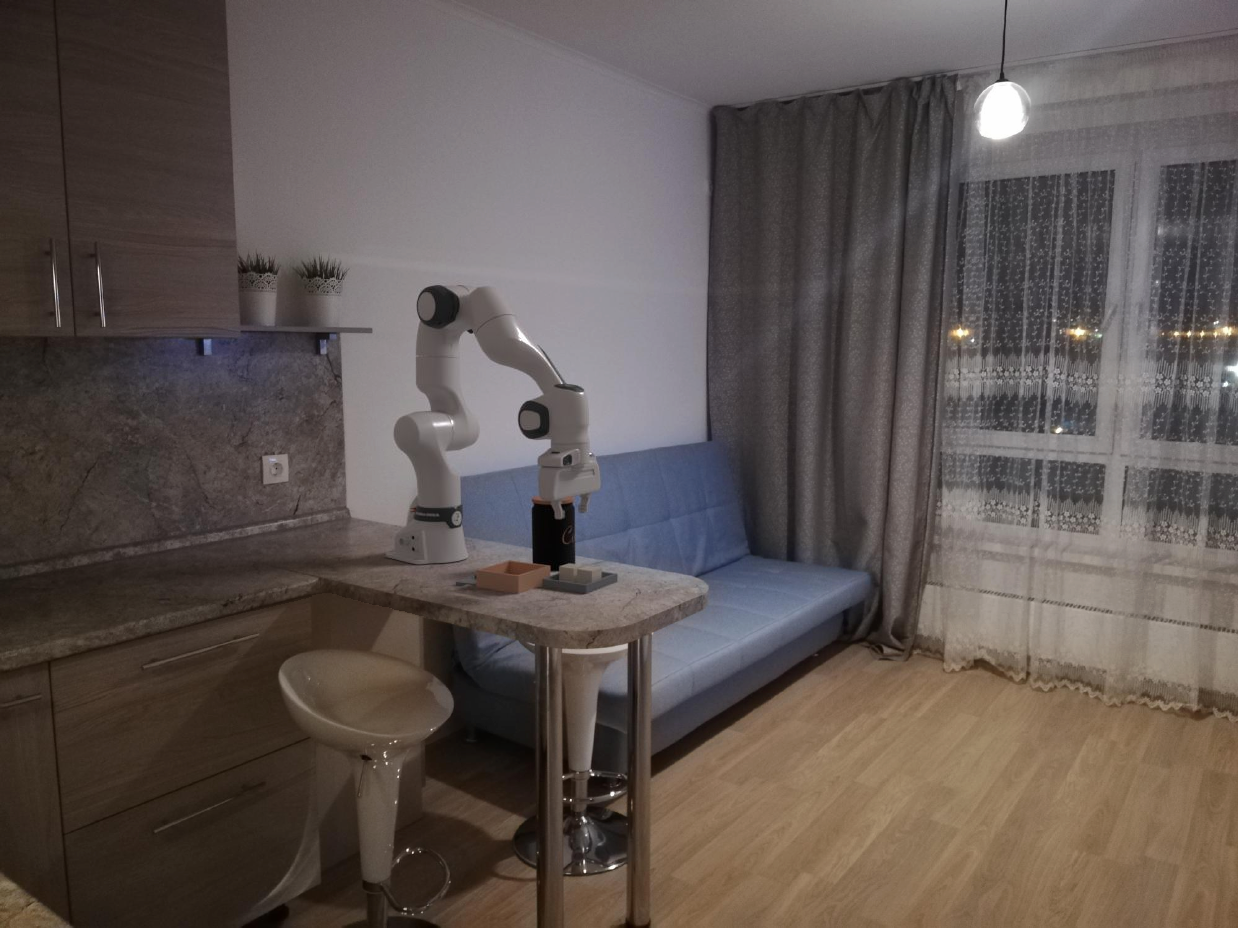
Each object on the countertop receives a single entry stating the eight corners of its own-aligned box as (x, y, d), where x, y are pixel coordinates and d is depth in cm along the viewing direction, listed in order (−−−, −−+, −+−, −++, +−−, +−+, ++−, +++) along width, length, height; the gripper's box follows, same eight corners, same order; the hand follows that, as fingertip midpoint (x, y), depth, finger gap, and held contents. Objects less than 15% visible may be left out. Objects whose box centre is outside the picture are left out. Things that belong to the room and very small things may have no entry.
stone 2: (577, 586, 209) (577, 569, 209) (587, 582, 213) (586, 565, 212) (592, 588, 207) (591, 571, 207) (601, 584, 211) (601, 567, 210)
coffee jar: (569, 574, 224) (568, 501, 222) (527, 572, 226) (526, 500, 224) (579, 565, 234) (579, 495, 232) (539, 563, 236) (538, 493, 234)
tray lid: (455, 585, 213) (455, 578, 213) (479, 575, 222) (478, 569, 222) (481, 587, 211) (481, 581, 210) (504, 578, 220) (503, 571, 219)
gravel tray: (542, 589, 209) (542, 578, 209) (574, 577, 220) (574, 567, 220) (586, 596, 203) (586, 585, 202) (617, 584, 214) (617, 573, 213)
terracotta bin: (476, 589, 209) (476, 569, 209) (509, 578, 219) (509, 560, 219) (518, 596, 203) (518, 576, 203) (550, 584, 213) (550, 565, 213)
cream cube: (559, 583, 212) (559, 566, 211) (569, 580, 215) (569, 563, 215) (573, 585, 210) (573, 568, 209) (583, 582, 213) (583, 565, 213)
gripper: (584, 451, 220) (585, 508, 221) (532, 459, 202) (534, 521, 204) (606, 452, 216) (607, 510, 218) (555, 460, 199) (557, 523, 200)
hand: (571, 515), depth 211 cm, fingers open, 8 cm apart
